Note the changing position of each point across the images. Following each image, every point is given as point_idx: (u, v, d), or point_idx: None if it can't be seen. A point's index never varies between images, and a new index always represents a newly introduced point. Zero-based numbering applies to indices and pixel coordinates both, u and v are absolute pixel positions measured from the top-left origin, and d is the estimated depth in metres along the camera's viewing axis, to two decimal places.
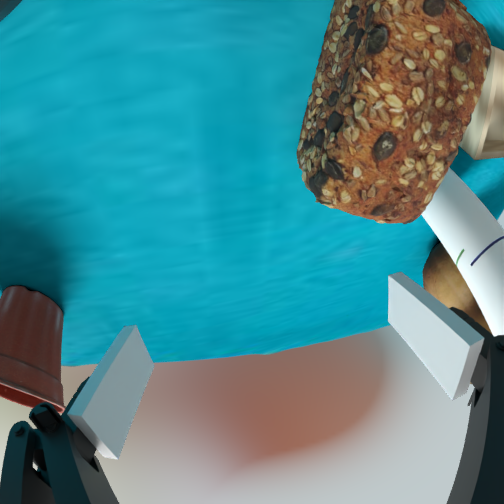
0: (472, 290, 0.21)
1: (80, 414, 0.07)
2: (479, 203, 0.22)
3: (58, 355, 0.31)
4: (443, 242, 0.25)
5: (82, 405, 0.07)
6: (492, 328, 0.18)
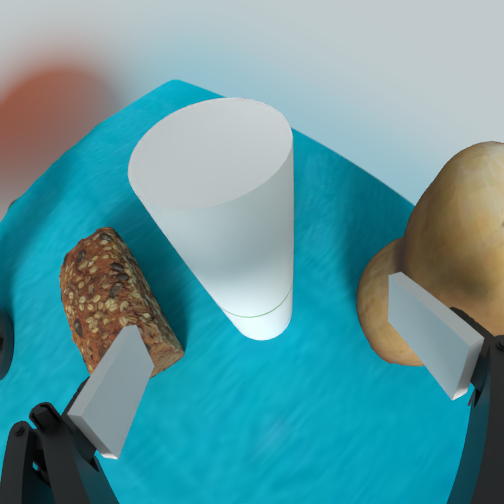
0: (233, 303, 0.19)
1: (80, 414, 0.07)
2: None
3: None
4: (243, 324, 0.24)
5: (82, 405, 0.07)
6: (212, 276, 0.15)
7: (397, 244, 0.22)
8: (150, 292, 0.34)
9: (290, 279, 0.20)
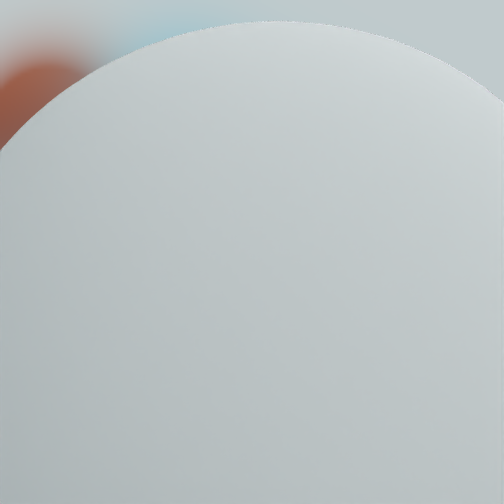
0: None
1: None
2: None
3: None
4: None
5: None
6: None
7: None
8: None
9: None
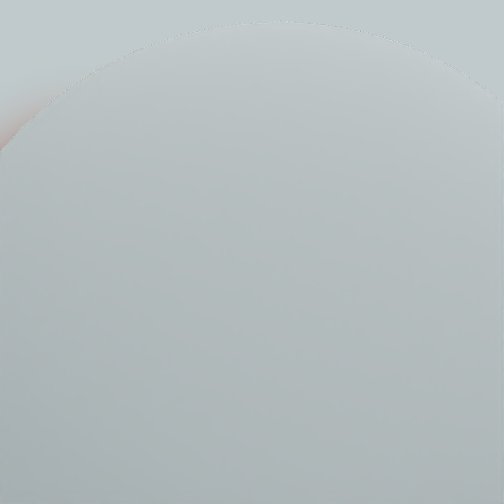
0: None
1: None
2: None
3: None
4: None
5: None
6: None
7: None
8: None
9: None
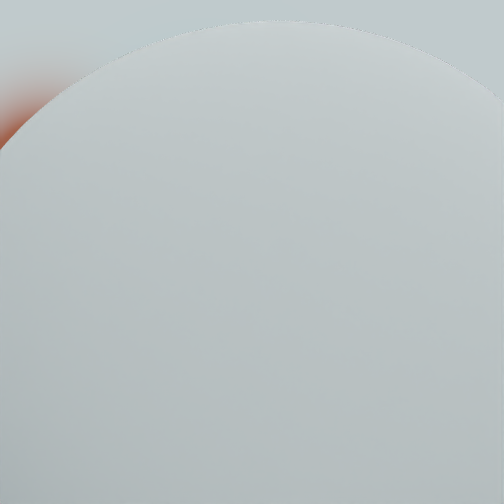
0: None
1: None
2: None
3: None
4: None
5: None
6: None
7: None
8: None
9: None
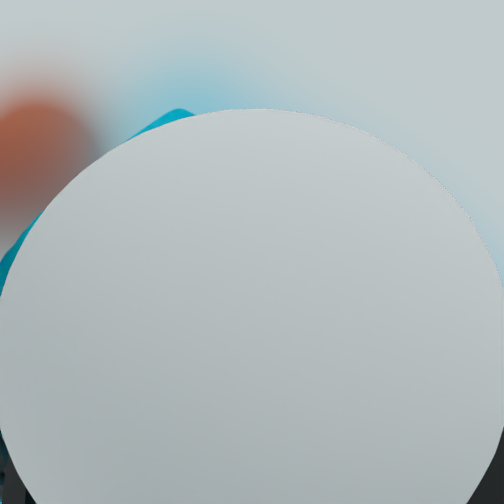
0: None
1: None
2: None
3: None
4: None
5: None
6: None
7: None
8: None
9: None
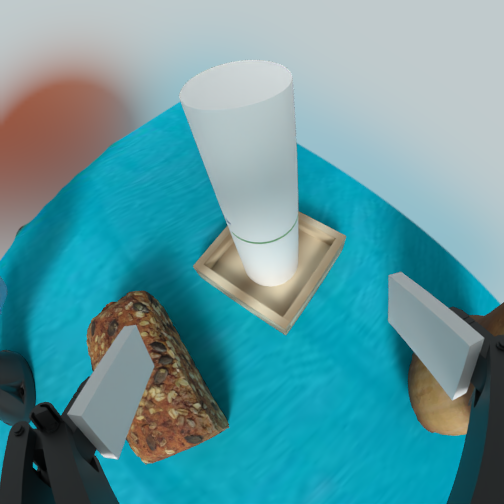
0: (248, 220, 0.23)
1: (80, 414, 0.07)
2: None
3: None
4: (255, 257, 0.28)
5: (82, 405, 0.07)
6: (234, 181, 0.19)
7: None
8: (190, 361, 0.31)
9: (295, 207, 0.24)
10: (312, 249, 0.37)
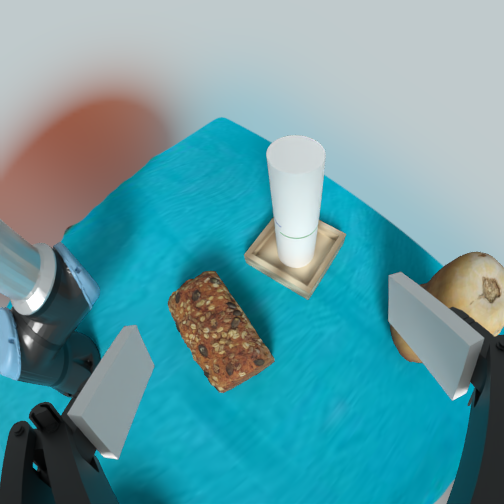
0: (294, 225, 0.40)
1: (80, 414, 0.07)
2: None
3: None
4: (292, 247, 0.45)
5: (82, 405, 0.07)
6: (292, 205, 0.35)
7: None
8: None
9: (318, 217, 0.41)
10: (323, 242, 0.54)
